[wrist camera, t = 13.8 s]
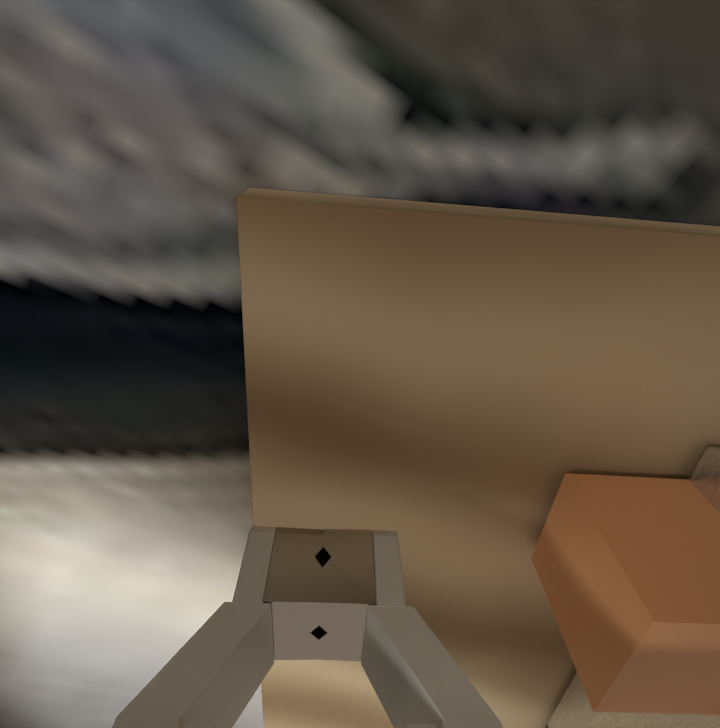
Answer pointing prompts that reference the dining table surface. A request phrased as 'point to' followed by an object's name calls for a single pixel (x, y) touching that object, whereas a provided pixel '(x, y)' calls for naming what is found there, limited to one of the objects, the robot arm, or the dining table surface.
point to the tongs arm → (580, 724)
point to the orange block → (636, 591)
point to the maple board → (463, 406)
